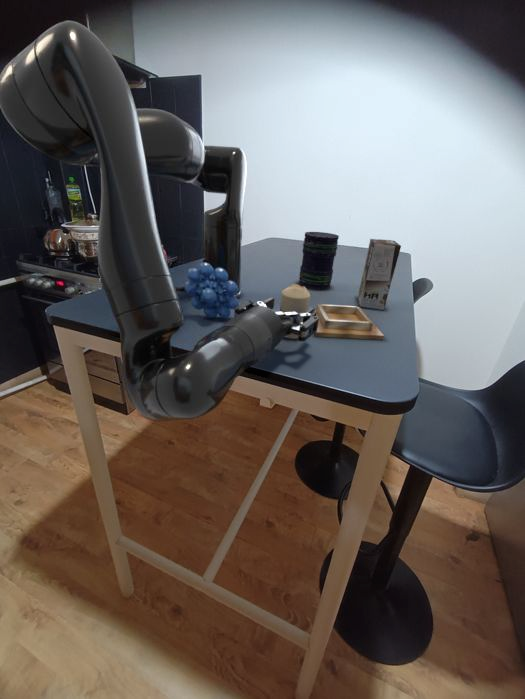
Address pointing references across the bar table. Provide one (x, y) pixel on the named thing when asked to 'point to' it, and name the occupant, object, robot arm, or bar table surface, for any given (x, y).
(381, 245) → the coffee box
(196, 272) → the grapes
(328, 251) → the storage jar
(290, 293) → the candle
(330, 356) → the bar table surface
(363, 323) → the base pad
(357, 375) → the bar table surface
